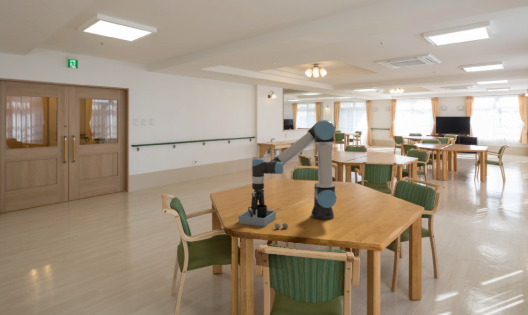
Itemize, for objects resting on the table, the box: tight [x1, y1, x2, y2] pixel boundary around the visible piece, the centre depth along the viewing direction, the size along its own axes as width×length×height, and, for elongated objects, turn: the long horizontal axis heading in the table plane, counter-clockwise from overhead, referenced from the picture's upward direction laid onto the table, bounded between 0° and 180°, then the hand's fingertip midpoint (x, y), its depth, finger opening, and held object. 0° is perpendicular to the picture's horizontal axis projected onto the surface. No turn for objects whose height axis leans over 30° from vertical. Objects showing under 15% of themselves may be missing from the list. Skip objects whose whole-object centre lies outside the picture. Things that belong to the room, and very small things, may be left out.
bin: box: [238, 208, 277, 228], centre depth 210 cm, size 18×20×5 cm
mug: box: [247, 203, 268, 218], centre depth 209 cm, size 8×12×10 cm
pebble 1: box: [274, 222, 281, 230], centre depth 195 cm, size 3×3×3 cm
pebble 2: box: [282, 222, 289, 229], centre depth 195 cm, size 3×3×3 cm
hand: (257, 217), depth 210 cm, fingers open, 9 cm apart
